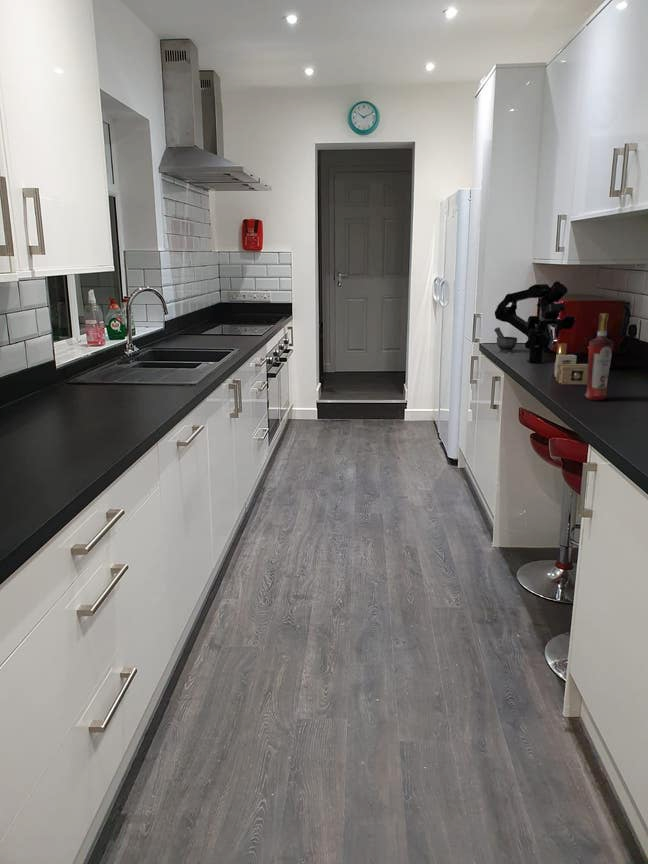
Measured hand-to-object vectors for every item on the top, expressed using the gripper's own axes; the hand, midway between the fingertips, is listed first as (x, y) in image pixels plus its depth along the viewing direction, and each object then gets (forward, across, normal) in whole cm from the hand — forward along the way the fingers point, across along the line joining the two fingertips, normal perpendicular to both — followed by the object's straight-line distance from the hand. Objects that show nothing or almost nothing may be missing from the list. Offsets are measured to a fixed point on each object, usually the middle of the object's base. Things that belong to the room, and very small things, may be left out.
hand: (553, 338), depth 274 cm
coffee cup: (+11, +18, +7) cm, 22 cm away
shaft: (+24, 0, -7) cm, 25 cm away
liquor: (+51, -2, -33) cm, 61 cm away
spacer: (+22, 0, -4) cm, 22 cm away
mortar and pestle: (-24, -9, +42) cm, 50 cm away
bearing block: (+30, 0, -12) cm, 32 cm away
